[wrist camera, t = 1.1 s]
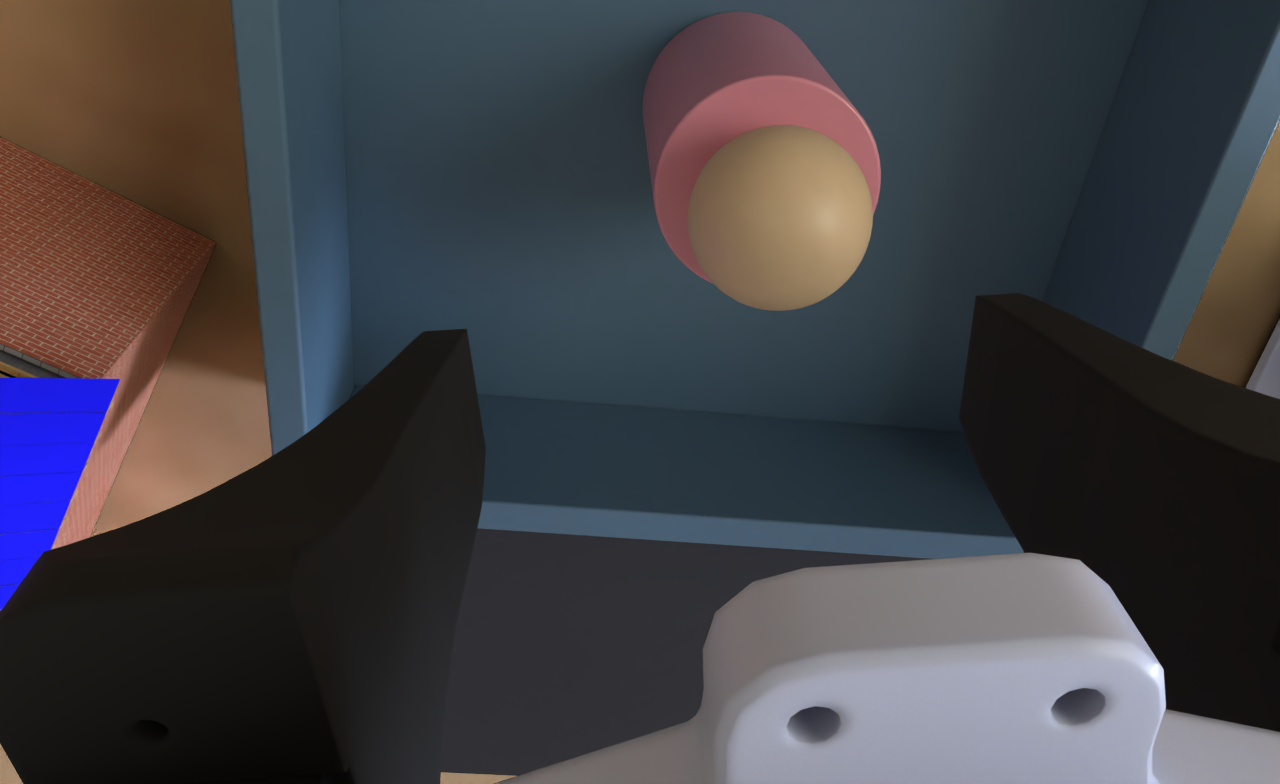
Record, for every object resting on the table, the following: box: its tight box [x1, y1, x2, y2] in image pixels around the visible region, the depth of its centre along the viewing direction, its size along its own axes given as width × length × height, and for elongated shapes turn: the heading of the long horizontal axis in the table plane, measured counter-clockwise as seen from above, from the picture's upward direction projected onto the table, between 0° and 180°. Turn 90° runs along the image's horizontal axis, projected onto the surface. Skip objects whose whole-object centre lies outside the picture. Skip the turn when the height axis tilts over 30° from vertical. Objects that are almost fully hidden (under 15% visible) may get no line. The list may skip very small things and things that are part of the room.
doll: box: [643, 12, 881, 311], centre depth 19 cm, size 4×4×8 cm
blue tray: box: [230, 0, 1280, 559], centre depth 20 cm, size 19×18×5 cm
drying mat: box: [441, 528, 930, 776], centre depth 31 cm, size 18×12×1 cm, turn 84°
